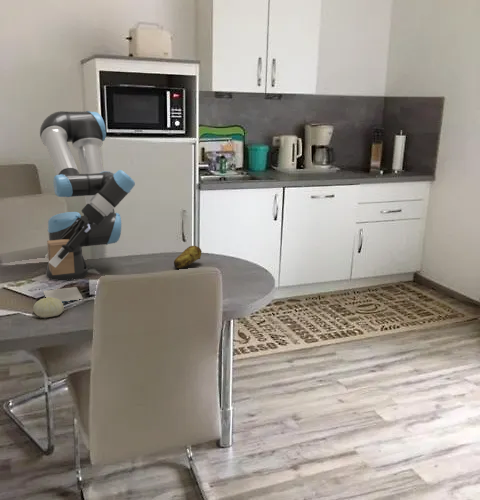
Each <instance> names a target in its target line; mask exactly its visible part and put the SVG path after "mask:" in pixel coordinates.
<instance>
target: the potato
mask: <svg viewBox="0 0 480 500" xmlns="http://www.w3.org/2000/svg"><path fill="white" fill-rule="evenodd" d="M201 256H202V248H200V247H199V246H197V245H190V246H188V247H187V248H186V249H184V251H182V253H181V254H180V255H178V256H177V257H176V258H175V259H174V261H173V265H174V267H175V268H176V269H182V268H185V267H188V266H190V265H192V264H194V262H196V261H197V260H201Z"/></svg>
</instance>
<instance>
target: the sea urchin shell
mask: <svg viewBox="0 0 480 500" xmlns="http://www.w3.org/2000/svg"><path fill="white" fill-rule="evenodd" d="M64 308H65V306H64V303H62V301H60V300H59V299H56V298H52V297H46V298H45V297H43V298H40V299H39V300H37V301H36V302H35V303H34V305H33V307H32V310H33V313H34V314H35V315H36V316H37V317H40V318H53V317H57V316H59V315H61V314H62V313H63V312H64Z"/></svg>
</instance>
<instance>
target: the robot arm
mask: <svg viewBox="0 0 480 500" xmlns="http://www.w3.org/2000/svg"><path fill="white" fill-rule="evenodd" d="M39 137H40V140H41V143H42V144H43V145H44V146H45V147H46V149H47V152H48V155H49V156H50V157H49V158H50V160H51V163H52V166H53V169H54V172H55V175H54V177H53V189H54V193H55V195H56V196H57V197H58V198H73V197H84V198H85V206H84V207H83V208H82V209H81V213H82V214H83V215H81V213H80V212H77V211H66V212H60V213H57V214H55V215H52V216H51V217H50V218H49V219H48V222H47V232H48V241H49V240H60V239H69V241H68V242H67V244H66V245H65V246H64V245H62V248H61V249H60V250H59V251H58V252H57V253H56V255H55V256H54V257H53V258H52V259H51V260H50V261H49V258H48V252H47V253H46V254H45V256H44V257H45V258H47V259H48V263H47V266H46V271H45V272H46V277H47V278H48V279H49V280H54V281H59V280H67V281H73V280H74V279H75V280H79V278H80V279H82V277H83V278H85V277H86V276H88V274H89V269H88V265H87V263H86V260H85V257H84V254H83V248H85V247H94V246H103V245H104V246H105V245H106V246H107V245H111V244H115V243H118V242H119V241H120V238H121V235H122V234H121V233H122V217H121V214H120V213H119V212H115V208H116V207H117V206H118V205H119V204H120V203H121V201H123V199H124V198H125V197H126V196H127V195H128V194H130V192H131V191H132V189H134V187H135V185H136V182H135V180H134V179H133V178H132V177H131V176H130V175H129V174H127V172H125V171H124V170H122V169H118V170H117V171H116V172H115V173H113V172H111V171H104V167H103V160H102V154H101V147H102V146H103V142H104V141H105V140H106V139H107V138H106V137H107V132H106V125H105V121H104V119H103V117H102V115H101V114H100V113H99V112H97V111H89V110H86V111H65V110H62V111H61V110H60V111H56V112H53V113H51V114H49V115H48V116H47V117H46V118H45V119H44V120H43V121H42V124H41V125H40V129H39ZM68 142H70V143H71V145H72V148H73V149H74V150H76V151H77V156H78V161H79V168H78V165H77V163H76V160H75V158H74V156H73V153H72V150H71V148H70V146H69V143H68ZM79 169H80V171H79ZM70 252H73V256H74V271H75V273H68V274H60V275H52V273H51V271H50V270H49V263H50V264H51V265H52V266H54V267H55V268H56V267H57V266H58V264H59V263H60V262H61V261H62V260H63V259H64V258H65V257H66V256H67V255H68V253H70Z"/></svg>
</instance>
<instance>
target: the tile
mask: <svg viewBox="0 0 480 500" xmlns="http://www.w3.org/2000/svg"><path fill="white" fill-rule="evenodd" d="M44 295H45V296H44ZM43 296H44V298H45V297H52V298H56V299H59V300H60V301H70V300H79V299H84V298H83V296H82V293H80V291H79V289H78V287H77V286H73V287H66V288H65V287H64V288H57V289H48V290H43Z"/></svg>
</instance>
